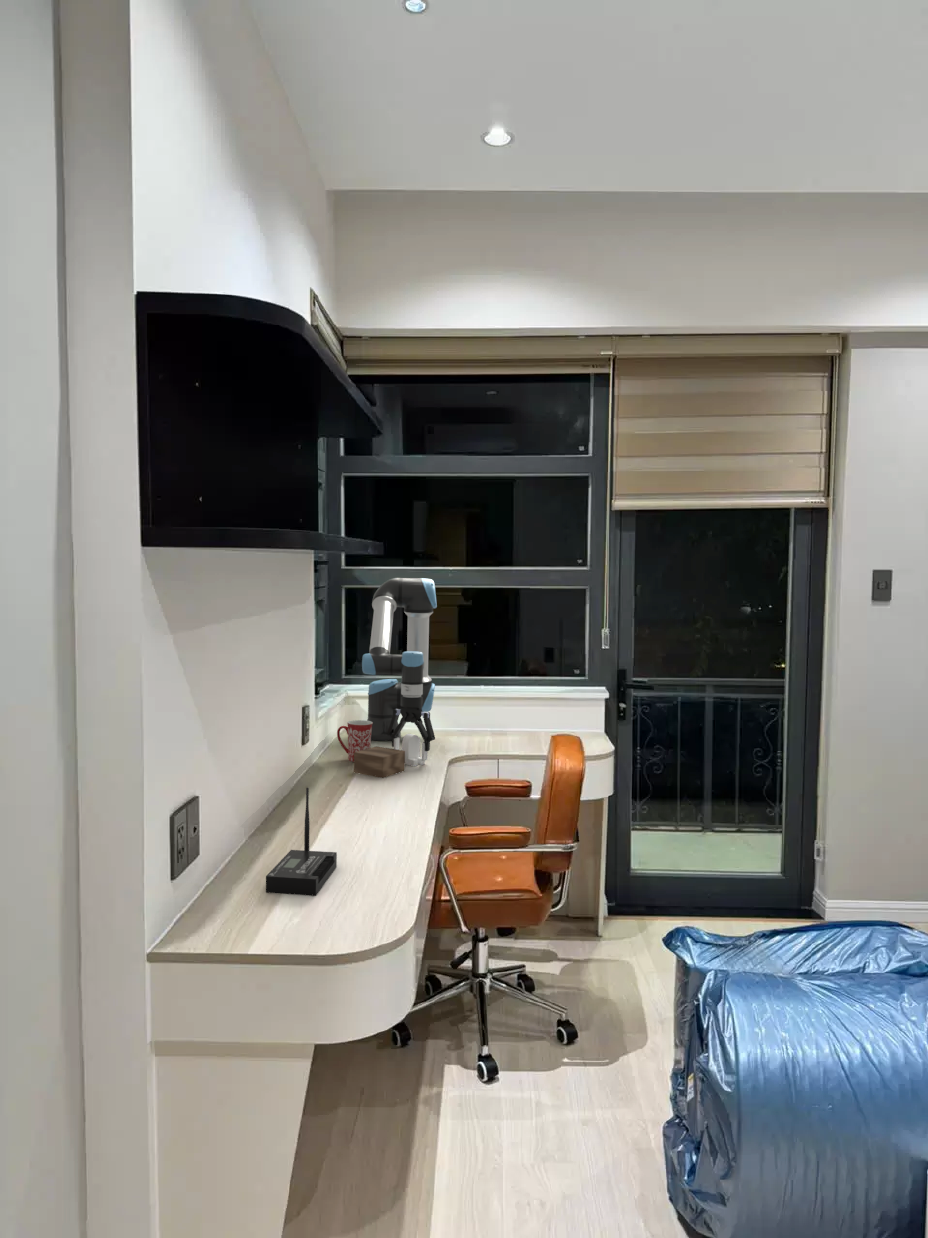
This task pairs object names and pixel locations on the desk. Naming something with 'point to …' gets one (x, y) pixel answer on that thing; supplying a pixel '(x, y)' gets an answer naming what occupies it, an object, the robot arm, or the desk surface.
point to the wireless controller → (302, 868)
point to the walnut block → (379, 761)
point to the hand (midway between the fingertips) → (410, 758)
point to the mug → (356, 736)
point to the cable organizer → (412, 750)
